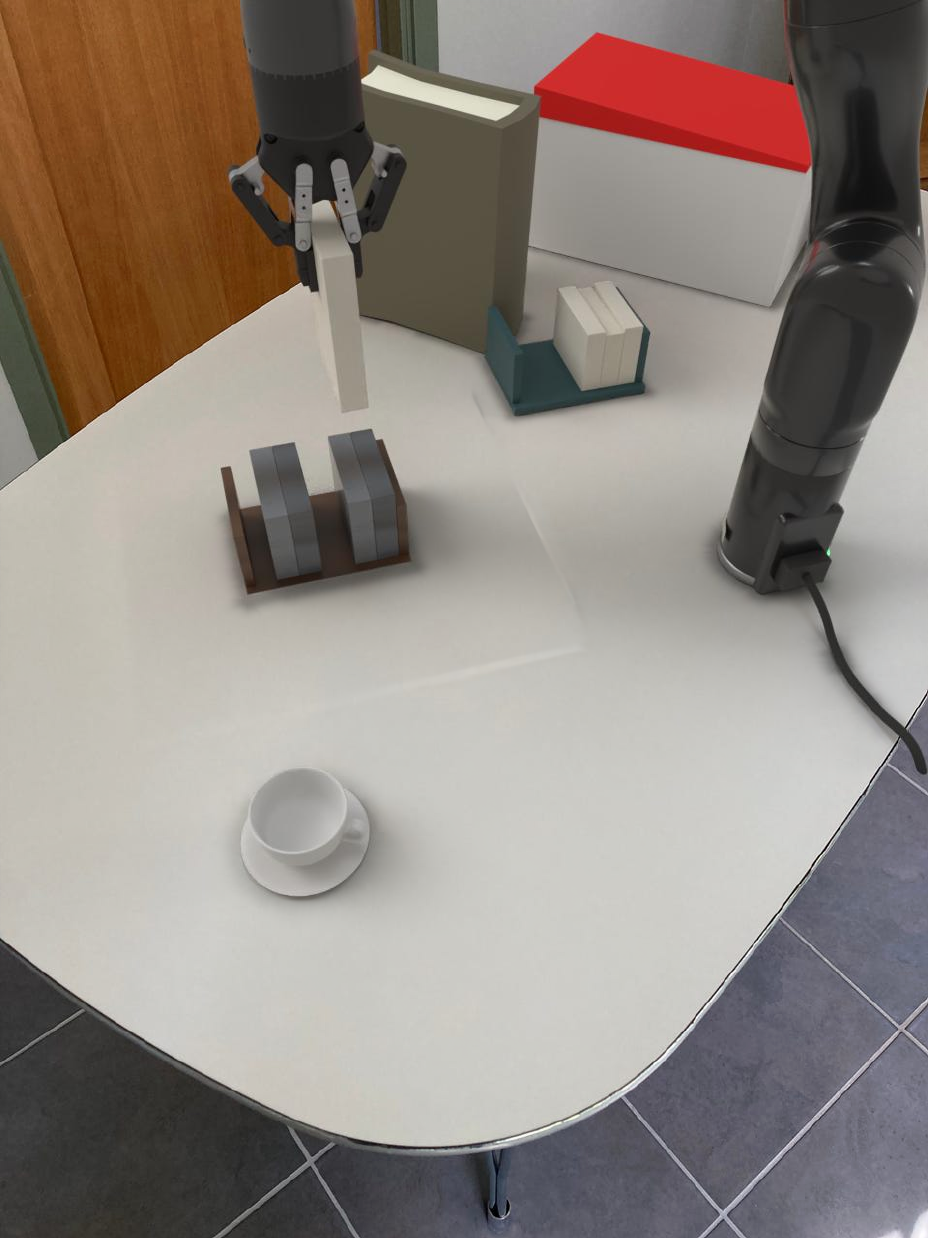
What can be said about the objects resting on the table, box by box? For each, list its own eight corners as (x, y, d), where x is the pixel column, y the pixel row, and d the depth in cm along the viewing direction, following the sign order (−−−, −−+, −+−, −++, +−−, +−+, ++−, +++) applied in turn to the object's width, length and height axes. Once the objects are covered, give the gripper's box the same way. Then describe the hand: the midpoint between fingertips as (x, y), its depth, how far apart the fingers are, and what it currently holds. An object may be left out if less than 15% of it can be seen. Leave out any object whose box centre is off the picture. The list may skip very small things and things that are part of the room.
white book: (369, 408, 82) (353, 253, 71) (341, 413, 81) (321, 258, 70) (344, 344, 88) (326, 193, 77) (318, 349, 87) (297, 198, 77)
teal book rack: (644, 392, 112) (655, 329, 106) (514, 416, 109) (517, 352, 103) (606, 336, 119) (615, 274, 113) (484, 357, 117) (485, 293, 110)
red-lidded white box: (580, 183, 146) (594, 31, 130) (808, 236, 136) (854, 78, 120) (523, 244, 134) (532, 85, 118) (769, 307, 124) (814, 142, 108)
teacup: (223, 886, 72) (211, 857, 68) (265, 774, 78) (255, 742, 75) (352, 909, 71) (346, 881, 67) (383, 793, 77) (379, 762, 74)
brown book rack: (412, 568, 94) (408, 499, 87) (248, 601, 91) (231, 533, 84) (385, 488, 101) (379, 420, 94) (233, 517, 98) (215, 448, 91)
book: (527, 324, 122) (548, 91, 101) (494, 361, 117) (509, 124, 95) (383, 277, 128) (373, 49, 107) (345, 311, 123) (328, 77, 102)
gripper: (205, 82, 61) (253, 323, 74) (416, 56, 63) (426, 294, 77) (192, 41, 66) (239, 274, 79) (389, 19, 68) (403, 249, 81)
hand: (331, 283), depth 78 cm, fingers closed on white book, 2 cm apart
